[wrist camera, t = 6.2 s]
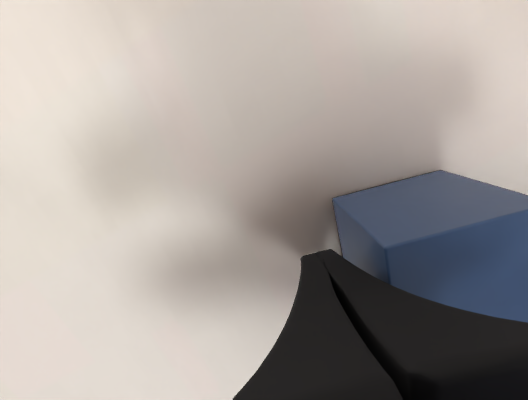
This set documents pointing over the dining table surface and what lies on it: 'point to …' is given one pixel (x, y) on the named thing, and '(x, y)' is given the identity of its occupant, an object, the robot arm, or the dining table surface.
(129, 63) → the dining table surface
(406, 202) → the blue block
